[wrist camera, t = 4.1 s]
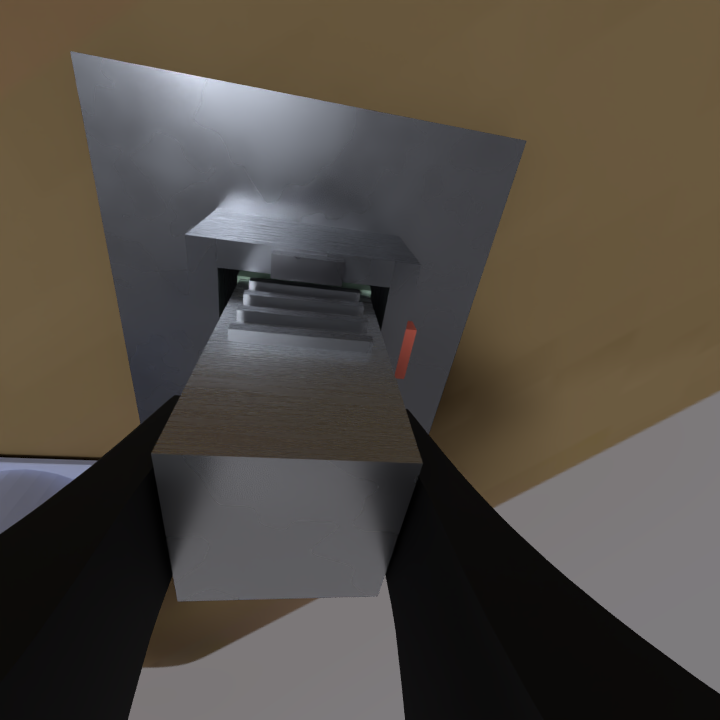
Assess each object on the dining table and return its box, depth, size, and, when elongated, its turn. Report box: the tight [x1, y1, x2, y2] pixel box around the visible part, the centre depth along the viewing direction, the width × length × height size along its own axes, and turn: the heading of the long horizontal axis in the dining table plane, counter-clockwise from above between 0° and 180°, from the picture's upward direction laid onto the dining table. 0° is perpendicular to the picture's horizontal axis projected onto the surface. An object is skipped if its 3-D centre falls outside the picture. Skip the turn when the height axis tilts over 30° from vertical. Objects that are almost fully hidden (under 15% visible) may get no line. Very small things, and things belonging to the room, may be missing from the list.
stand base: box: [70, 51, 526, 435], centre depth 14 cm, size 14×14×5 cm
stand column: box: [151, 270, 423, 601], centre depth 10 cm, size 4×4×8 cm
